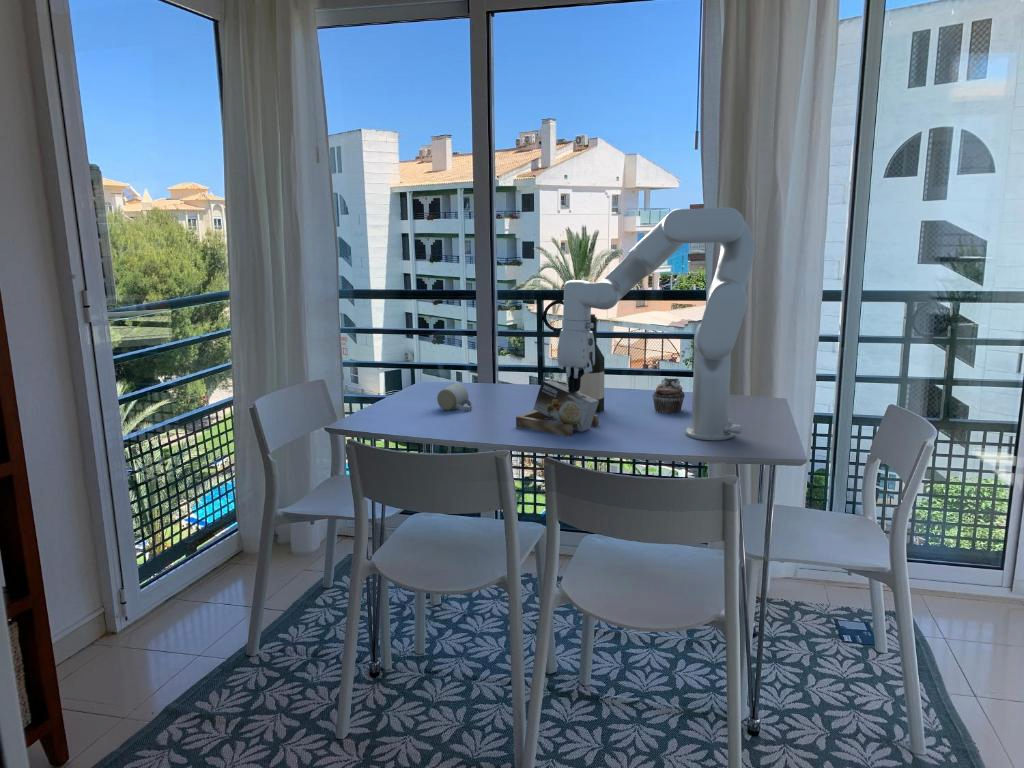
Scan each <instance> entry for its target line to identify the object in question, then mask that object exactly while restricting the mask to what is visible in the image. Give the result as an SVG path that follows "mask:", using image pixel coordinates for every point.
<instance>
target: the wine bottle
mask: <svg viewBox="0 0 1024 768" xmlns="http://www.w3.org/2000/svg"><path fill="white" fill-rule="evenodd" d="M597 317H598V316H596V313H591V319H590V320H591V323H593V324H594V327H593V328H590V331H592V332H593V336H594V343H595V364H594V366H592V372H589V373H585V374H584V375H583V376H582V377H581V382H580V390H579V391H578V392H580V393H582V394H585V395H587V396H589V397H591V398H593V399H596V400H598V401H599V404H598V406H597V409H596V412H595V414H596V413H597V414H599V413H601V412H604V411H605V356H604V355H603V353H602V351H601V350H600V348H599V346H598V344H597V337H598V336H597V332H598V331H597V328H598V327H597V326H598V325H597V320H598V318H597ZM584 369H585V368H584Z"/></svg>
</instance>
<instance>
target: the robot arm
mask: <svg viewBox="0 0 1024 768" xmlns="http://www.w3.org/2000/svg"><path fill="white" fill-rule="evenodd" d="M712 243H713V244H715V243H716V244H718V245H719V246H720V247H719V248H720V251H719V257H718V261H717V265H716V269H715V273H714V274H713V275H714V276H713V279H712V281H711V284H710V287H709V289H708V292H707V296H706V300H707V302H706V304H705V308H704V313H703V315H702V319H701V322H700V323H699V324H698V325H697V327H696V329H695V331H694V335H693V336H694V337H693V377H692V379H693V380H692V407H691V408H692V410H691V412H692V413H691V425H690V426H688V427H687V428H686V429H685V435H687V436H689V437H690V438H692V439H697V440H703V441H724V440H729V439H732V438H733V437H734V436H735V434H736V435H741V434H742V433H743V427H742V425H740V424H734V423H733V418H729V412H730V411H729V409H730V389H731V388H730V385H731V367H732V365H731V362H732V361H731V360H732V350H733V349H734V346H735V344H736V342H737V338H738V335H739V332H740V329H741V325H742V324H743V323H742V322H743V320H744V318H745V317H744V316H745V312H746V308H747V305H748V295H747V292H746V289H747V284H748V281H749V278H750V274H751V271H752V266H753V264H754V259H755V252H756V251H755V250H756V249H755V247H756V244H755V239H754V235H753V233H752V231H751V229H750V226H749V225H748V223H746V221H745V219H744V217H743V214H742V212H740V211H739V210H738V209H736V208H733V207H713V208H709V207H706V208H676V209H673V210H671V211H670V212H669V213H667V214H666V216H665V217H663V219H661V221H660V222H659V223H658V224H656V225H655V226H654V227H653V228H652V229H651V230H650V231H649V232H648V233H647V234H645V236H643V238H641V239H640V240H639V241H638V242H637V243H636V244H635V245H634V246H633V247H632V248H631V249H630V250H629V252H628V254H627V255H626V256H625V257H624V258H623V259H622V261H621V262H619V263H618V264H617V265H616V266H615V267H614V268H613V269H612V270H610V272H609V273H608V274H606V276H605V277H604V278H602V279H601V280H600V281H598V282H590V281H588V280H582V279H581V280H580V279H575V280H574V279H571V280H568V281H566V282H564V286H563V310H562V312H563V314H562V329H560V332H559V337H558V343H557V353H556V355H557V356H556V357H557V358H556V359H557V363H558V364H557V367H558V368H559V369H560V370H563V372H565V375H566V377H567V378H568V379H567V383H568V384H567V387H568V391H569V392H571V391H572V392H577V391H579V390H580V382H581V377H582V376H583V375H584V374H585V373H589V372H592V366H594V364H595V343H594V336H593V332H592V331H590V328H593V327H594V324H593V323H591V320H590V319H591V314H592V309H597V310H610V309H613V308H614V307H615V306H616V305H617V304H618V302H619V301H620V300H621V299H623V298H624V296H626V295H627V294H628V293H629V292H630V291H631V290H632V289H633V288H634V287H635V286H637V285H638V284H639V283H640V282H642V280H644V279H645V278H647V277H649V276H650V275H651V274H653V273H654V272H655V271H656V270H657V269H659V268H660V267H661V266H662V265H663V264H664V263H665V262H666V261H667V260H668V259H669V258H671V257H672V256H673V254H674V253H676V252H677V251H678V250H679V249H680V248H681V247H682V246H684V245H685V244H712ZM584 368H585V369H584Z"/></svg>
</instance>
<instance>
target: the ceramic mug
mask: <svg viewBox="0 0 1024 768" xmlns="http://www.w3.org/2000/svg"><path fill="white" fill-rule="evenodd" d="M436 399H437V400H436V401H437V404H438V406H439V407H440V408H441V409H443V410H444V411H448V410H449V411H453V409H454V410H456V409H458V410H460V411H463V410H469V409H471V408H473V403H472V401H471V400H470V399H469V392H468V390H467V388H466V387H465V386H464V385H463V384H462V383H458V382H454V383H452V384H450V385H448V386H446V387H445V388H443V389H442V390H440V391H439V392H438V394H437V398H436ZM466 405H468V406H466ZM471 410H472V409H471Z"/></svg>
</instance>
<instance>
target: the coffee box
mask: <svg viewBox="0 0 1024 768" xmlns="http://www.w3.org/2000/svg"><path fill="white" fill-rule="evenodd" d="M535 399H536V400H535V403H534V406H533V411H535V410H536V411H538V412H540V413H542V414H545V415H547V416H549V417H551V418H553V419H552V420H555V421H556V422H558V423H564V424H569V425H572V429H574V430H577V431H579V432H584V431H587V430H590V429H591V427H592V426H591V423H592V421H593V418H594V415H596V413H595V412H596V409H597V406H598V404H599V401H598V400H596V399H593V398H591V397H589V396H587V395H585V394H582V393H580V392H578V391H577V392H572V391H571V392H569V391H568V385H565V384H563V383H560V382H558V381H556V380H554V379H546V380H542V381H541V384H540V386H539V391H538V394H537V397H536V398H535Z"/></svg>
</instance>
